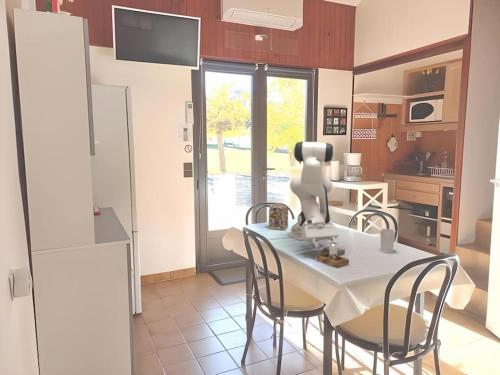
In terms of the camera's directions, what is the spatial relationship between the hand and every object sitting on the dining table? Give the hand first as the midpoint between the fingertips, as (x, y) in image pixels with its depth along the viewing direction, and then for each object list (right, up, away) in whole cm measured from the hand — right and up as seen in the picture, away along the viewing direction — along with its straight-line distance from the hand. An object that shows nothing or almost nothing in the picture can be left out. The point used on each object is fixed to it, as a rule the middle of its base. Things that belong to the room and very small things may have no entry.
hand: (325, 246), depth 194 cm
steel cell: (+2, -7, -6) cm, 9 cm away
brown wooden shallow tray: (+2, -7, -5) cm, 10 cm away
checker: (+7, -5, +10) cm, 13 cm away
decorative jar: (-20, +2, +68) cm, 70 cm away
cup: (+37, -5, +15) cm, 40 cm away
